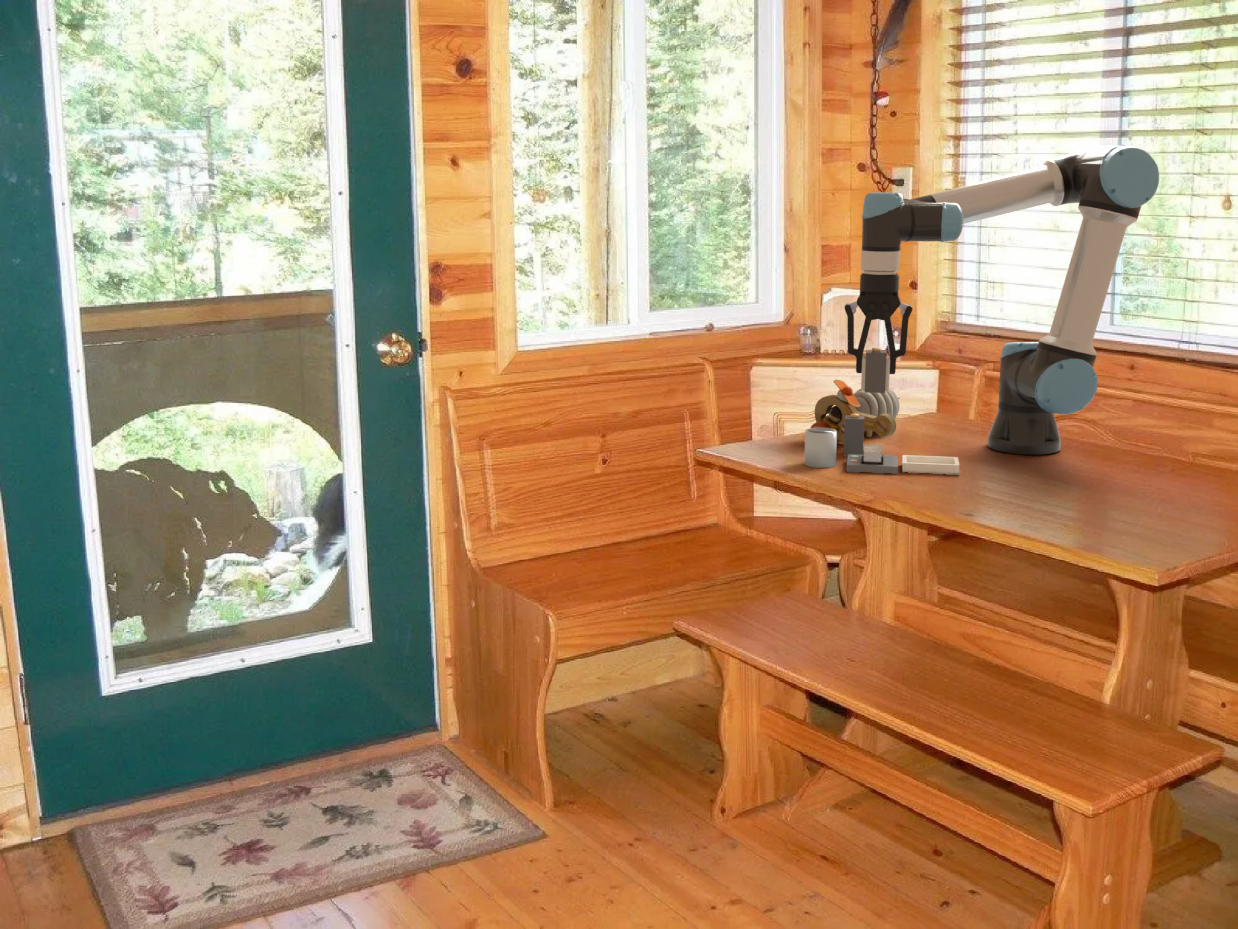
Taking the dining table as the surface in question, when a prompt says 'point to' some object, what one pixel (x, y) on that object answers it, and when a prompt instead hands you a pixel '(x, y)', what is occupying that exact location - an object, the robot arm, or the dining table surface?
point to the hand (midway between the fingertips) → (874, 389)
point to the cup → (820, 447)
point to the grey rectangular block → (872, 453)
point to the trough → (930, 464)
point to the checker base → (888, 465)
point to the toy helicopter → (848, 413)
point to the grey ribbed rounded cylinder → (877, 404)
